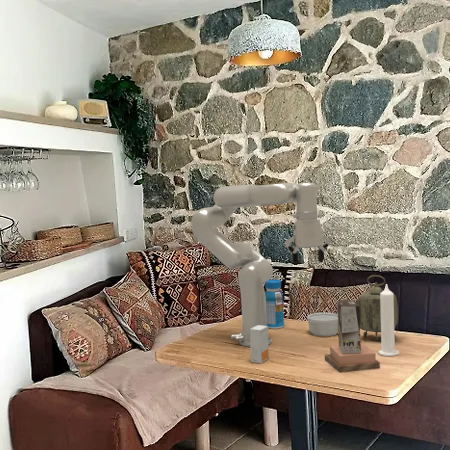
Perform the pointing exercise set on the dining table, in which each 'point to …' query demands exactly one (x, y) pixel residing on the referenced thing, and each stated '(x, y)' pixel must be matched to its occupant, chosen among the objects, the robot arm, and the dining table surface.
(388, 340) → the candle
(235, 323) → the dining table surface
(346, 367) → the tower base block
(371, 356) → the tower top block
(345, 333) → the coffee box
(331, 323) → the ramekin
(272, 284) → the beverage bottle
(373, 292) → the tabletop clock
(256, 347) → the skincare box
